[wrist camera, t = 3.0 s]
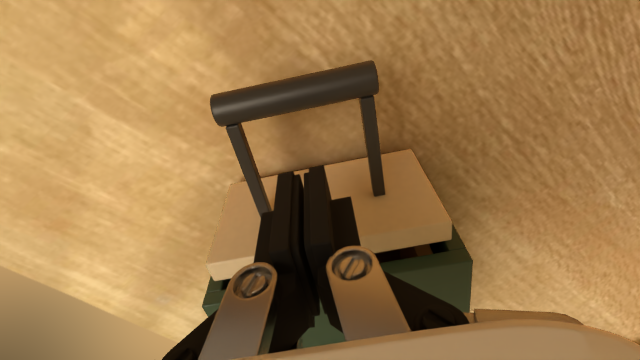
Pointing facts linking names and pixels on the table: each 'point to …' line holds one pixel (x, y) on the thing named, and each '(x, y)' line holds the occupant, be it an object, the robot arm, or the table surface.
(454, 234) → the cabinet
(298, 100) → the drawer
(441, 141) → the table surface
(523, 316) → the robot arm
